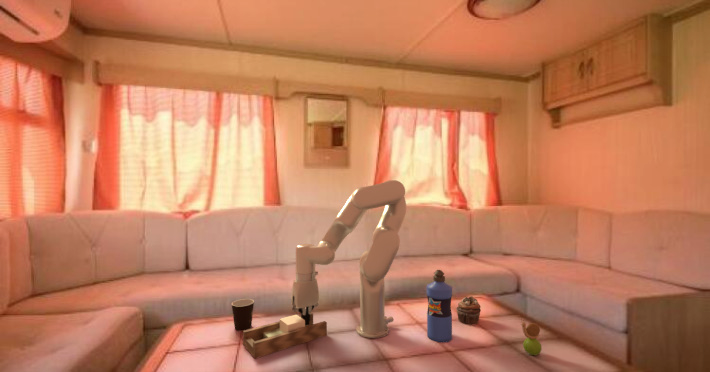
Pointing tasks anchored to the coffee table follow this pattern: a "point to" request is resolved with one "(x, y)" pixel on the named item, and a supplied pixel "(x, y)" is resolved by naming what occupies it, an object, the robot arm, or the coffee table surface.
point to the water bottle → (439, 309)
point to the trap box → (280, 337)
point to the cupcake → (468, 311)
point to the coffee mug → (242, 314)
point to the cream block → (291, 323)
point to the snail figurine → (531, 338)
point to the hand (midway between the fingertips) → (305, 323)
